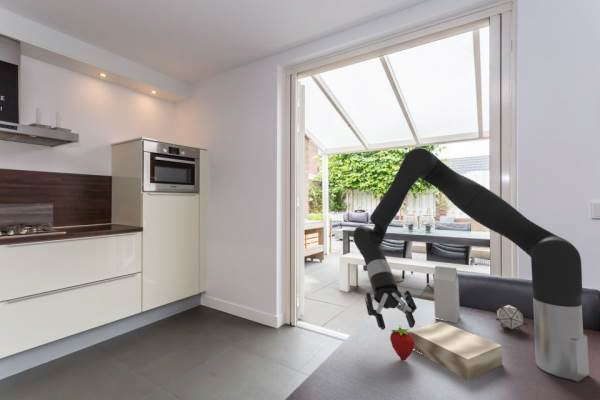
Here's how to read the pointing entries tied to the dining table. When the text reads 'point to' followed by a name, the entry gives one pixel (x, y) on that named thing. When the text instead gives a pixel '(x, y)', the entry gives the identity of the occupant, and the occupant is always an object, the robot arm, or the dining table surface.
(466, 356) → the birch stand
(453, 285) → the grey tall block
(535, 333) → the robot arm
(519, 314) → the game die
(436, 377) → the dining table surface
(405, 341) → the strawberry
